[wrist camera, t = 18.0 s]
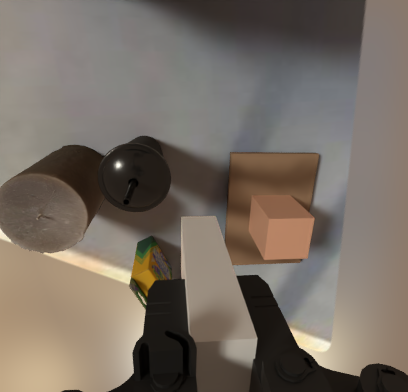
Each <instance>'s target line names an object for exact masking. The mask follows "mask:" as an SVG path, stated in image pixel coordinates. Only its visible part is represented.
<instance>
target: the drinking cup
mask: <svg viewBox="0 0 408 392" xmlns="http://www.w3.org/2000/svg"><path fill="white" fill-rule="evenodd" d="M98 184H99V187H100V190H101V192H102V193H103V195H104V196H105V198H106V199H107V200H108V201H109V202H110V203H112V204H113V205H114V206H116V207H118V208H120V209H122V210H125V211H130V212H142V211H146V210H149V209H152V208H154V207H156V206H157V205H158V204H160V203H161V202H162V201H163V200H164V198H165V197H166V195H167V193H168V191H169V188H170V184H171V174H170V170H169V167H168V164H167V162H166V161H165V159H164V158H163V154H162V151H161V148H160V145H159V144H158V142H157V141H156V140H155V139H153V138H151V137H149V136H140V137H137V138H135V139H134V140H132V141H130V142H128V143H126V144H122V145H119V146H117V147H115V148H113V149H112V150H110V151H109V152H108V153H107V154H106V155H105V156H104V158H103V159H102V161H101V163H100V165H99V168H98Z"/></svg>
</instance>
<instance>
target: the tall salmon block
mask: <svg viewBox="0 0 408 392" xmlns="http://www.w3.org/2000/svg"><path fill="white" fill-rule="evenodd" d="M314 220H315V218H314V217H313V216H312V215H311V214H310V213H309V212H308V211H307V210H306V209H304V208H303V207H302V206H301V205H300V204H299V203H298V202H297V201H296V200H295V199H294V198H293V197H292V196H291V195H252V200H251V211H250V221H249V232H250V234H251V236H252V238H253V240H254V242H255V244H256V246H257V247H258V249H259V251H260V253H261V255H262V257H263V259H264V260H276V259H304V258H308V252H309V247H310V241H311V236H312V230H313V225H314Z"/></svg>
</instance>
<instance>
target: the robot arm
mask: <svg viewBox="0 0 408 392" xmlns="http://www.w3.org/2000/svg"><path fill="white" fill-rule="evenodd" d="M181 277H182V279H173V280H155V281H154V283H153V284H152V286H151V287H150V288H149V290H148V294H147V305H146V314H145V322H144V332H143V336H142V337H141V338H140V339H139V340H138V341H137V342H136V345H135V347H134V350H133V365H134V374H133V375H132V376H131V377H130V378H129V379H128V380H127V381H126V382H125V383H123V384H122V385H121V386H119V387H117V388H115V389H113V390H111V391H109V392H408V375H406V374H405V373H404V372H402V371H400V370H398V369H395V368H393V367H391V366H387V365H383V364H379V363H378V364H370V365H368V366H366V367H365V368H364V369H362V371H361V374H360V377H359V376H354V375H350V374H345V373H341V372H337V371H332V370H329V369H326V368H324V367H322V366H319V365H318V363H317V362H316V361H315V359H314V358H313V357H312V356H311V355H309V354H308V353H307V352H306V351H304V350H303V349H301V348H299V346H298V345H297V343H296V341H295V339H294V337H293V335H292V333H291V331H290V329H289V327H288V324H287V322H286V320H285V318H284V316H283V314H282V312H281V310H280V308H279V307H278V304H277V302H276V300H275V298H274V297H273V294H272V292H271V290H270V288H269V285H268V284H267V283H266V282H265V281H264V280H263V279H261V278H260V277H259V276H258V275H244V276H236V274H235V271H234V268H233V265H232V262H231V259H230V256H229V254H228V251H227V248H226V245H225V242H224V239H223V236H222V233H221V230H220V227H219V224H218V222H217V219H216V216H187V217H181ZM62 392H82V391H80V390H64V391H62Z"/></svg>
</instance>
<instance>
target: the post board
mask: <svg viewBox="0 0 408 392" xmlns="http://www.w3.org/2000/svg"><path fill="white" fill-rule="evenodd" d="M318 158H319V154H318V153H264V152H230V166H229V181H228V197H227V213H226V228H225V245H226V248H227V251H228V254H229V256H230V259H231V262H232V265H249V264H276V263H300V261H301V259H276V260H264V259H263V257H262V255H261V253H260V251H259V249H258V247H257V246H256V244H255V242H254V240H253V238H252V236H251V234H250V232H249V221H250V211H251V200H252V195H291V196H292V197H293V198H294V199H295V200H296V201H297V202H298V203H299V204H300V205H301V206H302V207H303V208H304V209H306V210H307V211H308V212H309V210H310V204H311V198H312V193H313V187H314V181H315V175H316V170H317V164H318Z"/></svg>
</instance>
